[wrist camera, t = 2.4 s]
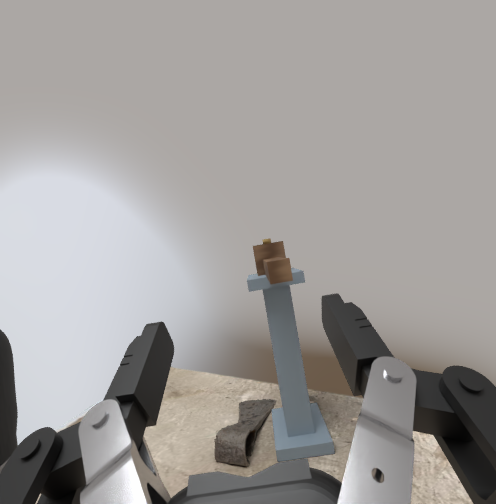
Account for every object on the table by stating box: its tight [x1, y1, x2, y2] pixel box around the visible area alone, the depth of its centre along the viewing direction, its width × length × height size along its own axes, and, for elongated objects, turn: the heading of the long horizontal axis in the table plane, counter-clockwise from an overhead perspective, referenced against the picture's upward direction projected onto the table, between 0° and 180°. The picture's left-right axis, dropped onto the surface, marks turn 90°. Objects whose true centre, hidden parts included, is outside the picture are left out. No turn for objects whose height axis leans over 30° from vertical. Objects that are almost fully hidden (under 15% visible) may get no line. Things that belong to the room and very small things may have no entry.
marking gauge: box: [253, 239, 293, 284], centre depth 42 cm, size 6×21×7 cm, turn 178°
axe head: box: [214, 399, 276, 466], centre depth 51 cm, size 20×5×10 cm
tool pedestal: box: [247, 268, 335, 462], centre depth 47 cm, size 10×11×32 cm
